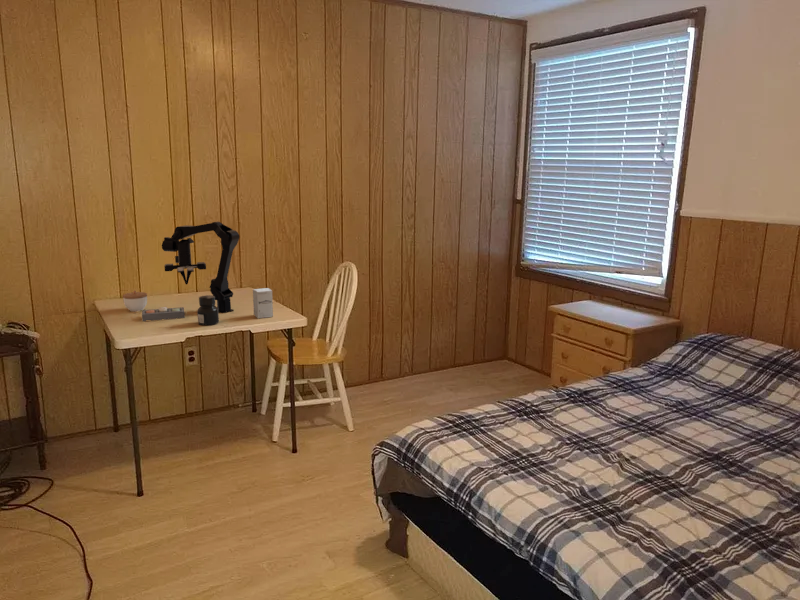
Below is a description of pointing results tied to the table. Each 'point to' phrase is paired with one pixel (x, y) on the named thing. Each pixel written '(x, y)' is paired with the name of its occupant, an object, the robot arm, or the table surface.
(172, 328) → the table surface
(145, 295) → the lidded jar
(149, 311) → the terracotta button
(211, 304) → the ink bottle
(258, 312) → the supplement box
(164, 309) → the cream button
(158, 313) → the button panel
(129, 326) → the table surface
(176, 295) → the table surface
